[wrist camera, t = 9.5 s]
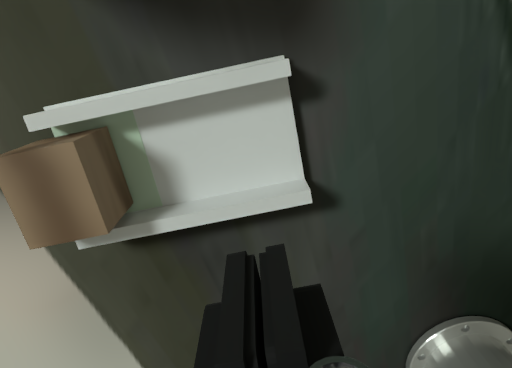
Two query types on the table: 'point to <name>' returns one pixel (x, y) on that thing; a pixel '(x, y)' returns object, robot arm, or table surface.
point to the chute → (195, 146)
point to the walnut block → (65, 187)
